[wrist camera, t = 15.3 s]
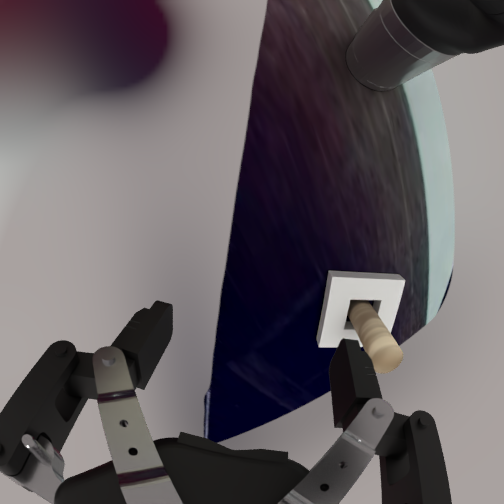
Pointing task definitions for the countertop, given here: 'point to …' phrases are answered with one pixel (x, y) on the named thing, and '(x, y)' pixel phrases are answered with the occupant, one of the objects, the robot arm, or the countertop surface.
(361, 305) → the peg
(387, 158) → the countertop surface
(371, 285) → the socket plate
